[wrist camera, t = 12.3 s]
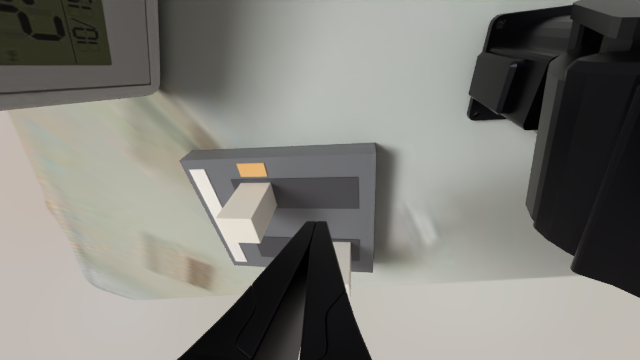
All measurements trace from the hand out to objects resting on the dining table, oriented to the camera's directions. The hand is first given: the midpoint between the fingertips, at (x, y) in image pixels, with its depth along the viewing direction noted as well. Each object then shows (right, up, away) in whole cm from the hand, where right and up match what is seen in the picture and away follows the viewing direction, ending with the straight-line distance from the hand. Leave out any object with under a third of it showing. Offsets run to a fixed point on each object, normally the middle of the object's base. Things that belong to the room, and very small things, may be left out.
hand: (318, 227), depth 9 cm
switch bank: (-3, -2, +16) cm, 17 cm away
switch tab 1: (-6, +1, +13) cm, 14 cm away
